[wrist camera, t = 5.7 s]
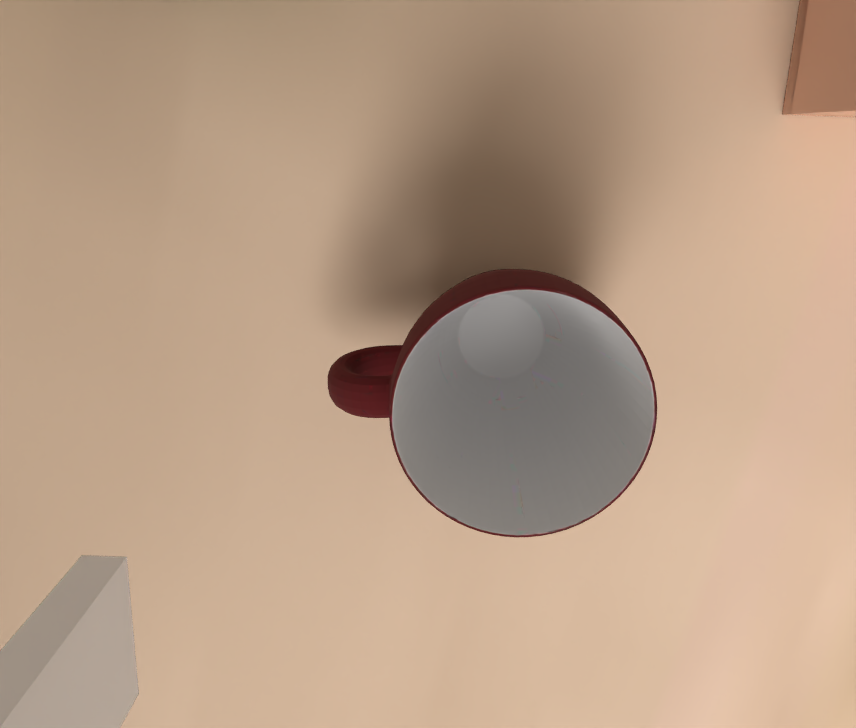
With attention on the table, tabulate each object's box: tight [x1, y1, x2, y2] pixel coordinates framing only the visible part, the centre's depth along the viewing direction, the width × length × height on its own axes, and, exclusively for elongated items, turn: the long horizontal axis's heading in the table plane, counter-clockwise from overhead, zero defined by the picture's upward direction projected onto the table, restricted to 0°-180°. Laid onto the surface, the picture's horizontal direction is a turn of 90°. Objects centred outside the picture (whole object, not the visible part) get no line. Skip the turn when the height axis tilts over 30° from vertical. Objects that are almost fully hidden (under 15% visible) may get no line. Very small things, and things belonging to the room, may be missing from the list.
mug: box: [328, 269, 657, 537], centre depth 28 cm, size 10×8×10 cm
